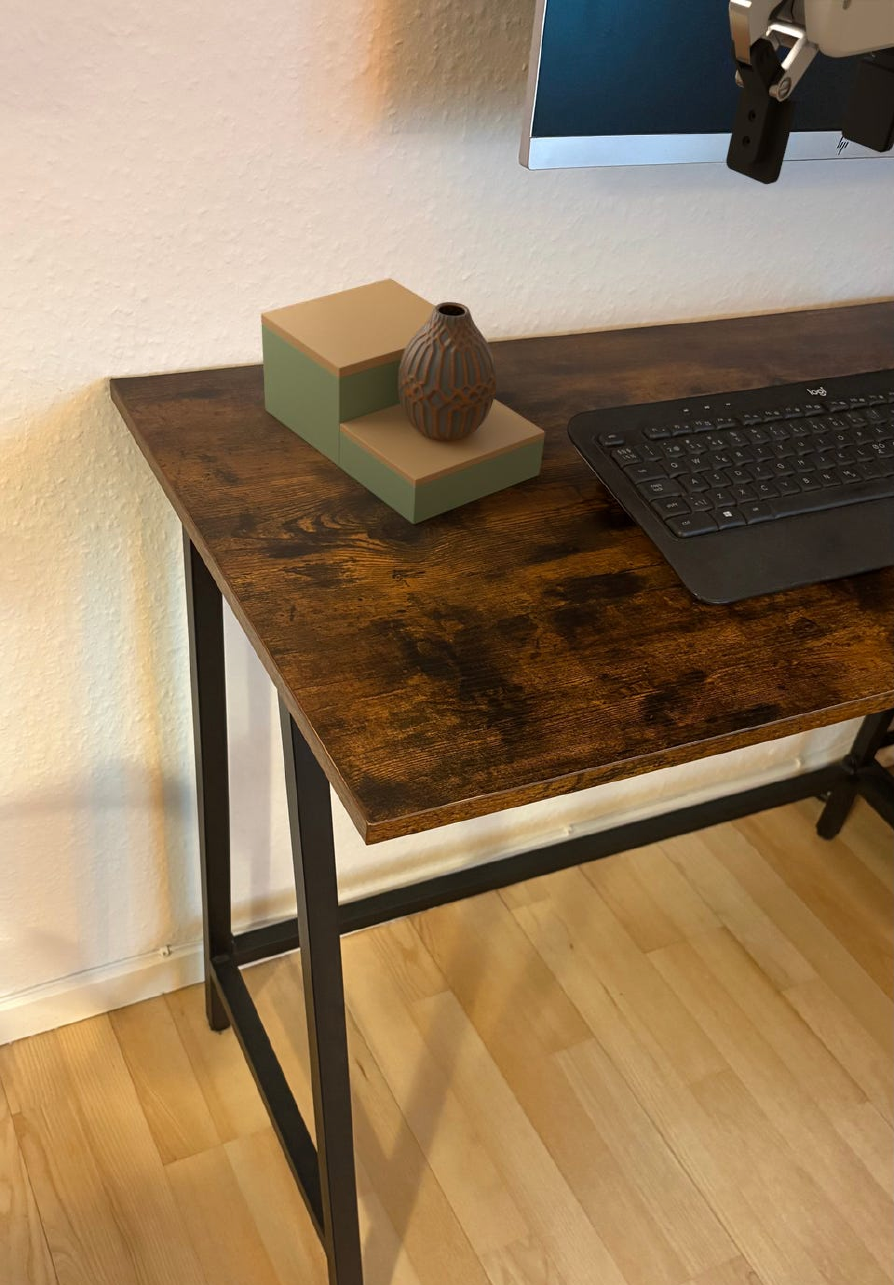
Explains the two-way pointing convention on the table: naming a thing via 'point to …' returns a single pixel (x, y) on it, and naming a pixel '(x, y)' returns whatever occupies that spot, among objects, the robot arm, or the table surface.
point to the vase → (447, 375)
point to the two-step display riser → (382, 403)
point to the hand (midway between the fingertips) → (809, 159)
